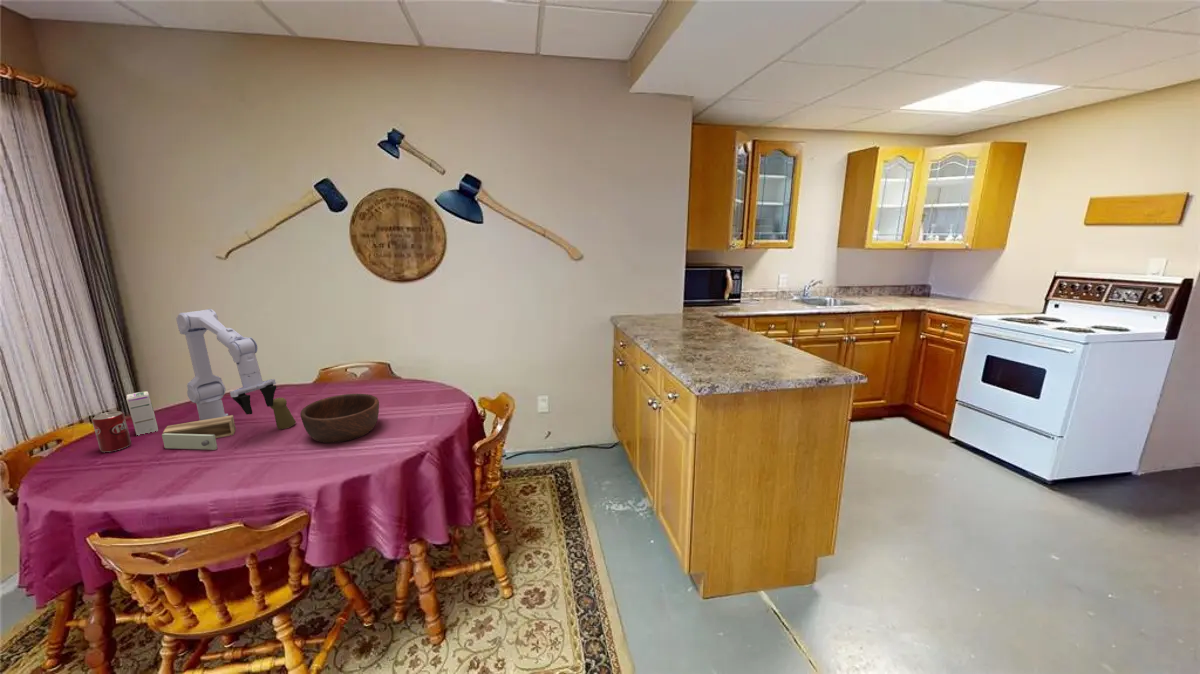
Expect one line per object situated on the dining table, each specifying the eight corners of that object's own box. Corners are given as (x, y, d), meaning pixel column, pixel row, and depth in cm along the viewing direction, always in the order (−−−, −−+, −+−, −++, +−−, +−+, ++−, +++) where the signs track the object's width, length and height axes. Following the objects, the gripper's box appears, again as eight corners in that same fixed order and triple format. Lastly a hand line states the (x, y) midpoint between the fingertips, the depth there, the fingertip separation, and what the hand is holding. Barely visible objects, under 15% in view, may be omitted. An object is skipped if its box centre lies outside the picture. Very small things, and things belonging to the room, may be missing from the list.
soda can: (96, 455, 147) (86, 421, 144) (106, 445, 153) (98, 413, 150) (126, 450, 150) (117, 417, 147) (135, 441, 156) (127, 409, 153)
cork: (286, 429, 166) (276, 403, 162) (273, 429, 167) (262, 403, 163) (299, 420, 171) (290, 395, 167) (286, 420, 173) (276, 395, 169)
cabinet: (170, 440, 157) (167, 425, 156) (235, 428, 167) (233, 415, 165) (166, 447, 152) (162, 432, 151) (233, 434, 162) (230, 420, 161)
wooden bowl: (295, 431, 165) (291, 405, 163) (366, 412, 183) (363, 388, 181) (316, 454, 149) (312, 426, 146) (392, 431, 167) (389, 405, 164)
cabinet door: (167, 446, 152) (164, 433, 151) (217, 448, 151) (214, 434, 150) (161, 449, 150) (158, 436, 149) (211, 451, 149) (208, 437, 148)
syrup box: (158, 431, 164) (149, 394, 161) (135, 436, 160) (126, 398, 156) (157, 426, 168) (148, 390, 164) (135, 431, 164) (125, 394, 160)
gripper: (236, 378, 148) (247, 417, 150) (278, 366, 161) (287, 402, 164) (221, 379, 150) (232, 417, 152) (263, 367, 163) (272, 403, 166)
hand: (260, 410), depth 158 cm, fingers open, 7 cm apart
